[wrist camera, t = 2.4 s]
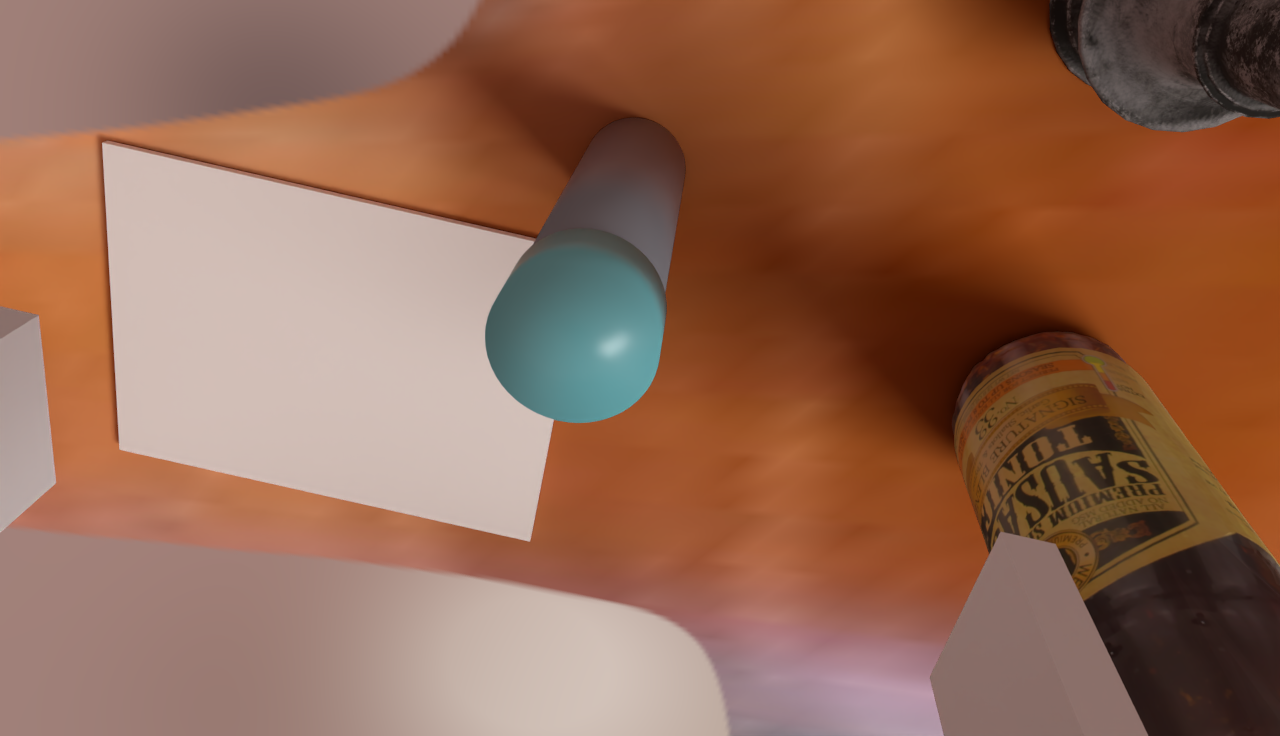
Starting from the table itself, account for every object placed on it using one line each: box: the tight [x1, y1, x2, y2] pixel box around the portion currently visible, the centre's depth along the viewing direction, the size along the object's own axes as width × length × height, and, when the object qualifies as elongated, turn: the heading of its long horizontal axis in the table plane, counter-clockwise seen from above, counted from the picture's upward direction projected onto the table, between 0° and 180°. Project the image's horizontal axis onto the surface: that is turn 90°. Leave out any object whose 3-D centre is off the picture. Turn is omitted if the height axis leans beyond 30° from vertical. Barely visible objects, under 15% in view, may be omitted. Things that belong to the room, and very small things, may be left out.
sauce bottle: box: [952, 331, 1280, 736], centre depth 23 cm, size 6×6×20 cm
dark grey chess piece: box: [1049, 0, 1280, 132], centre depth 21 cm, size 6×6×12 cm
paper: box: [102, 140, 554, 541], centre depth 34 cm, size 12×16×1 cm
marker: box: [485, 118, 686, 423], centre depth 24 cm, size 3×3×13 cm
